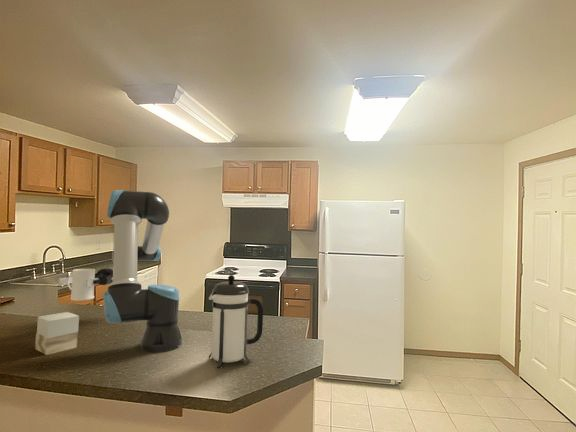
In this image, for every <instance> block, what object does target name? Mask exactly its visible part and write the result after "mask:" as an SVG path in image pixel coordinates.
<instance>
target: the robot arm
mask: <svg viewBox="0 0 576 432" xmlns="http://www.w3.org/2000/svg"><path fill="white" fill-rule="evenodd" d="M108 201H109V202H108V205H107V206H108V207H107V211H106V217H107V218H109V219H110V222H111V224H113V226H114V231H113V232H114V234H113V235H114V236H113V252H112V253H113V255H112V257H113V258H112V266H111V267H107V268H101V269H99V270H97V272H95V278H94V279H88V280H86V287H88V286H93V285H94V286H97V285H101V286H106V285H108V286H107V290H106V291H104V292H103V293H102V294H103V295H102V296H103V307H104V308H103V309H104V315H105V317H104V318H105V321H106V322H107V323H108V324H122V323H129V322H130V323H131V322H142V321H146V327H145V329H144V332H143V334H142V338H141V340H140V349H141V350H142V351H145V352H150V353H151V352H152V353H160V352H161V353H162V352H168V351H167V350H169V351H172V350H171V349H173V350H175V349H174V348H176V347H178V346H179V345H181V346H182V344H181V343H183V341H182V340H183V338H182V334H181V331H180V327H179V305H180V304H179V303H180V293H179V292H180V291H179V289H178V288H177V287H175V286H171V285H164V284H149V285H148V286H147V288H146V289H142V283H140V281H138V262H139V261H140V262H145V261H146V262H148V261H150V262H153V261H155V262H156V261H159V260H160V259H161V257H162V248H161V246H160V242H161V238H162V235H163V232H164V231H163V230H164V227H165V224H167V222H168V220H169V218H170V209H169V207H168V204H167V202H166V201H165V200H164V199H163V198H162V197H161V196H160V195H159V194H156V193H155V192H150V191H137V190H125V189H115V190H112V191H111V193H110V197H109V200H108ZM143 219H144V220H146V227H145V231H144V237H143V241H142V246H141V245H139V246H138V233H139V229H138V228H139V227H138V226H139V225H140V224H141V223H142V221H143ZM68 277H69V275H67V276H66V277H61V278H58V286H63V285H67V279H68ZM69 284H70V285H72V276H71V277H70V279H69ZM179 347H180V346H179ZM179 347H178V348H179ZM176 349H177V348H176Z"/></svg>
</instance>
